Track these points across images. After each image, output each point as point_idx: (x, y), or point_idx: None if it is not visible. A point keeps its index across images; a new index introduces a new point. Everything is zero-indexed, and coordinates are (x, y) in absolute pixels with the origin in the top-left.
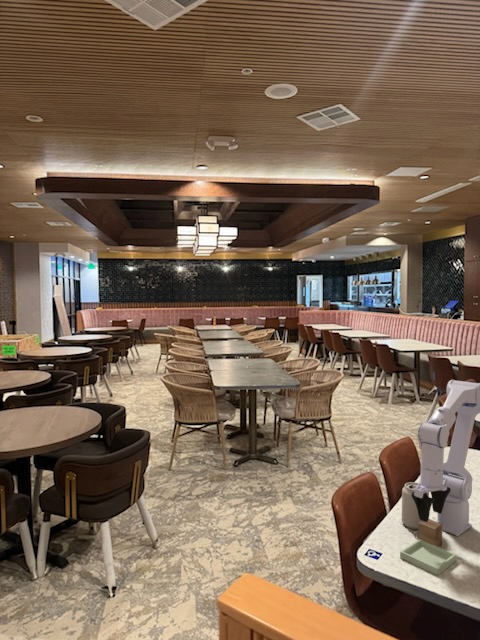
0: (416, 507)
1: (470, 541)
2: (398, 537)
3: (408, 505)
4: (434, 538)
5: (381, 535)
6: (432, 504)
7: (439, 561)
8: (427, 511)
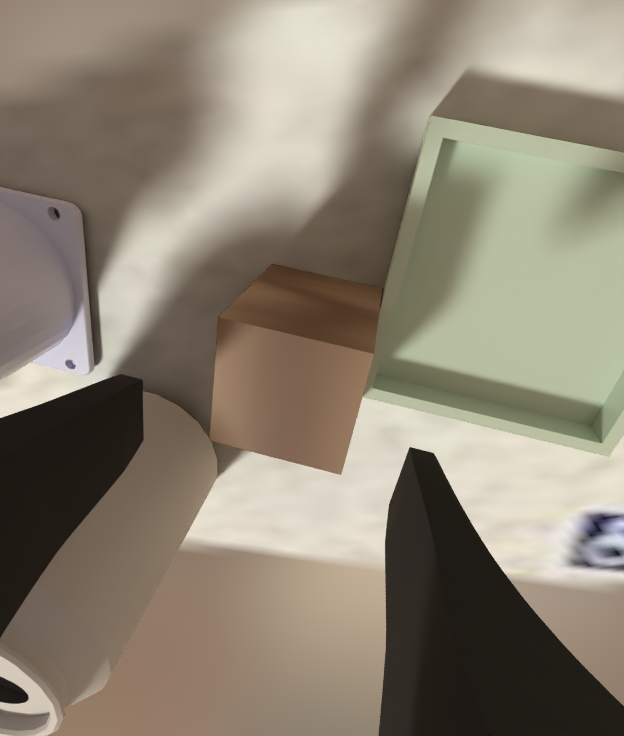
0: (142, 534)
1: (71, 107)
2: (353, 479)
3: (159, 577)
4: (373, 319)
5: None
6: (104, 493)
7: (538, 217)
8: (491, 557)
